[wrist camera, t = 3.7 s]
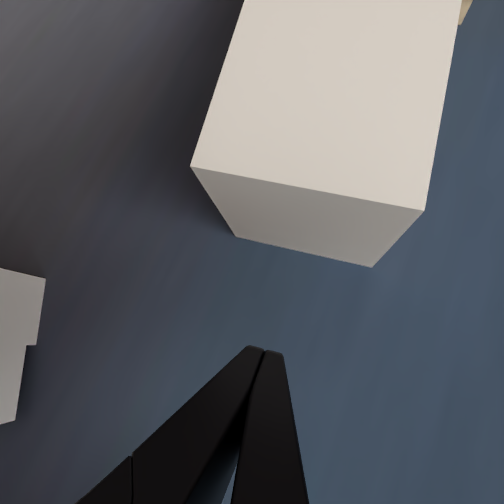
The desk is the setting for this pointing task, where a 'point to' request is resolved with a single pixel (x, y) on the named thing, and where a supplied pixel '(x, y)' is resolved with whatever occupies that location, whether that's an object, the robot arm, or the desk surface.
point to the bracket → (16, 332)
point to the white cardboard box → (328, 122)
